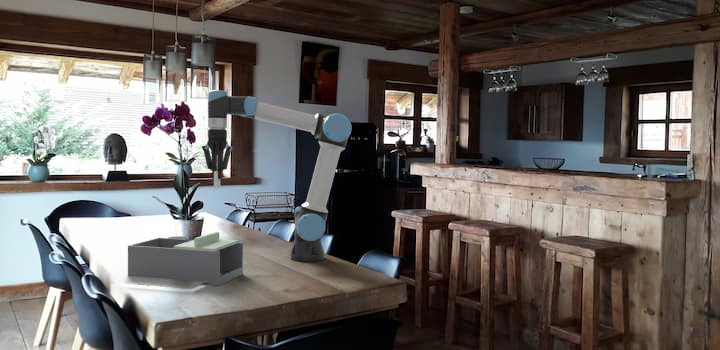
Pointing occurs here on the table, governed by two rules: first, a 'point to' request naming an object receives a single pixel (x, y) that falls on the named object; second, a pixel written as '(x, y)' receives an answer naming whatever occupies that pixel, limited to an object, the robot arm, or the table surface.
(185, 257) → the housing
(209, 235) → the cover
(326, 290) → the table surface
